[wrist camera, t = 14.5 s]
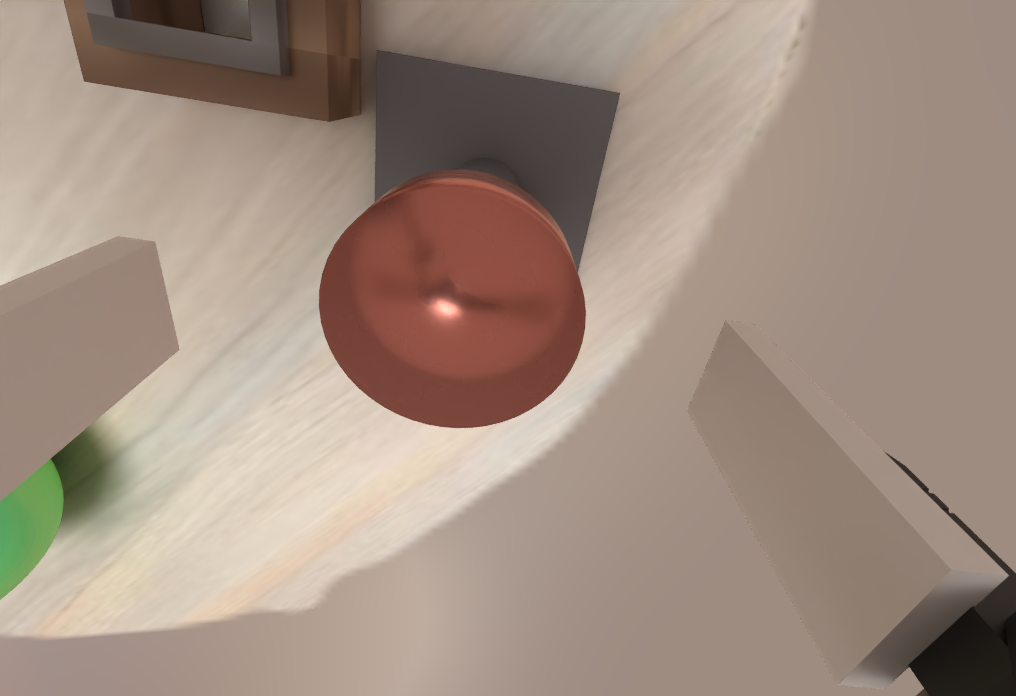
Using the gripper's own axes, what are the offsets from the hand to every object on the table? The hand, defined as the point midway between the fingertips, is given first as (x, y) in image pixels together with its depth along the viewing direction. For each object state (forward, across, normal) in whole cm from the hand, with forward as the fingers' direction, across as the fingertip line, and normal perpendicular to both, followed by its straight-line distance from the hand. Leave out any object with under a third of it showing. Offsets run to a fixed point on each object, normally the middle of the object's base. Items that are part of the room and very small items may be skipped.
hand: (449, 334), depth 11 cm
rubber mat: (+18, 0, 0) cm, 18 cm away
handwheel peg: (+17, 0, 0) cm, 17 cm away
